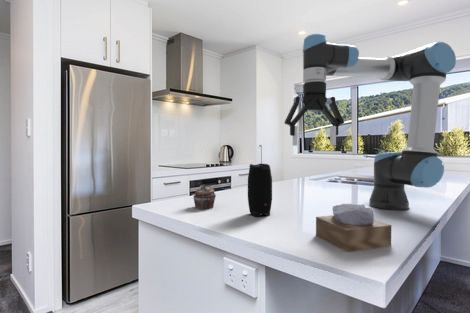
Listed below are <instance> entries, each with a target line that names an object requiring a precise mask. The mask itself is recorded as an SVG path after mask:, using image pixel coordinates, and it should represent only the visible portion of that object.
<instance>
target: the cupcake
mask: <svg viewBox="0 0 470 313" xmlns="http://www.w3.org/2000/svg"><path fill="white" fill-rule="evenodd" d="M215 192H216V191H215V189H214V186H213V184H200V186H199V187H198V188H197V189H196V191H195V194H194V196H192V197H193V202H194V207H195V209H196V210H205V211H206V210H211V209H213V208H214V206H215V205H214V204H215V201H216V197H217V195H216V194H215Z"/></svg>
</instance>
